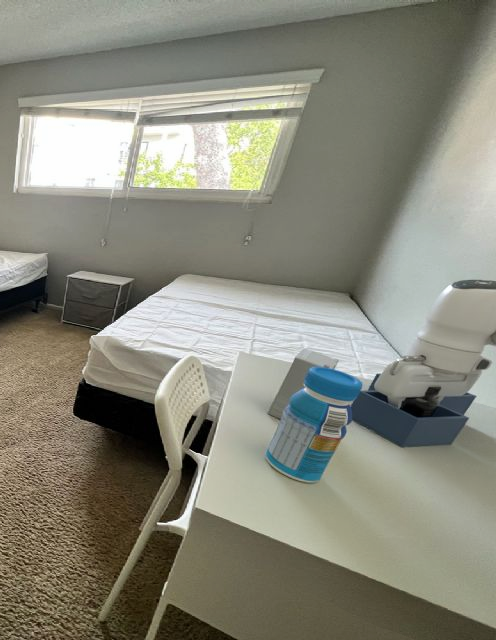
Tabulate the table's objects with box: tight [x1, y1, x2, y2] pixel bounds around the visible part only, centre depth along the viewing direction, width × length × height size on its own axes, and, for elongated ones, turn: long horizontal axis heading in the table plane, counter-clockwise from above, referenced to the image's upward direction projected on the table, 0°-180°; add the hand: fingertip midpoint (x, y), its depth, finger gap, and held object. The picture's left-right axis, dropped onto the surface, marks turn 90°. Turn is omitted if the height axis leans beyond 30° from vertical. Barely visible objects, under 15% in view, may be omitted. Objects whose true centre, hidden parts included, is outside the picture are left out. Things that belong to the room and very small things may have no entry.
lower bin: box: [350, 389, 470, 448], centre depth 78 cm, size 13×11×7 cm
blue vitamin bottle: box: [265, 367, 363, 484], centre depth 62 cm, size 8×8×20 cm
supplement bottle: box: [386, 387, 441, 418], centre depth 77 cm, size 7×7×12 cm
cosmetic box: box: [267, 348, 340, 420], centre depth 79 cm, size 8×7×16 cm
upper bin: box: [367, 373, 477, 416], centre depth 87 cm, size 13×11×10 cm
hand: (407, 410), depth 78 cm, fingers closed on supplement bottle, 7 cm apart
